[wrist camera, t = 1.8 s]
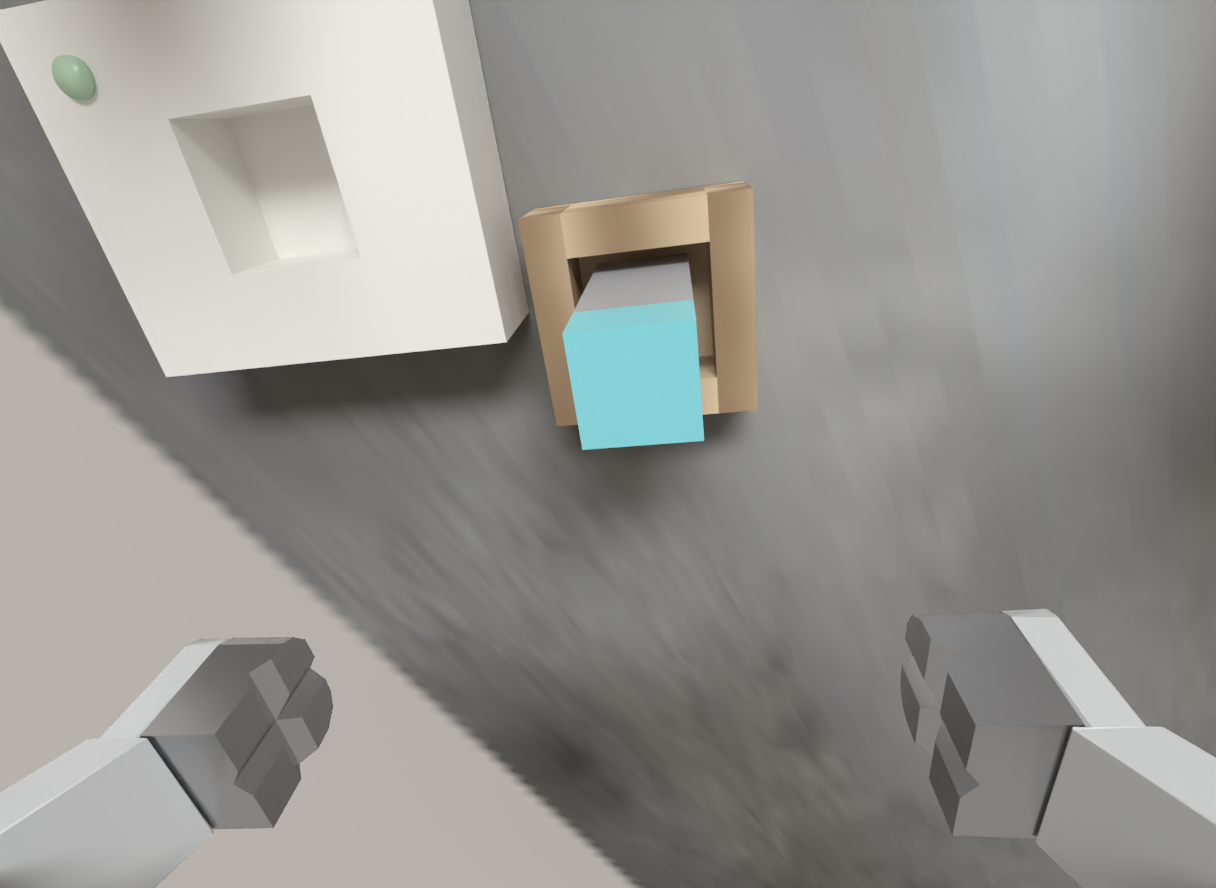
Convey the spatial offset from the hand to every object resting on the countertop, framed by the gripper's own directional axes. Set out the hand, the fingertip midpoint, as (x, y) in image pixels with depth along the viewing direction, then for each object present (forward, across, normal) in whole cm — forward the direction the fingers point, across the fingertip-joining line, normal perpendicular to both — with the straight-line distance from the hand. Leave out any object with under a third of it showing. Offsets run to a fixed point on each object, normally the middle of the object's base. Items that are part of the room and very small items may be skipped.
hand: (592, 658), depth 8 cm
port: (+19, +12, -6) cm, 23 cm away
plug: (+18, 0, 0) cm, 19 cm away
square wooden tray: (+19, 0, 0) cm, 19 cm away
